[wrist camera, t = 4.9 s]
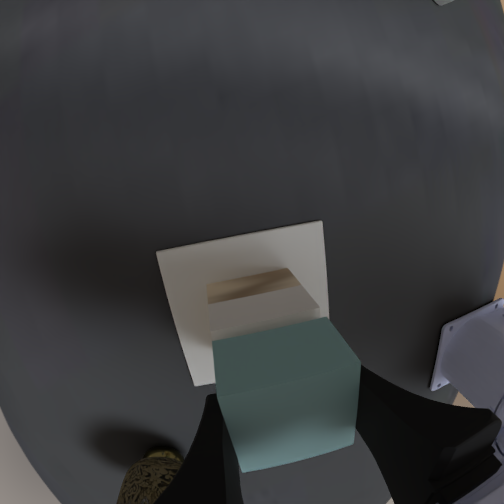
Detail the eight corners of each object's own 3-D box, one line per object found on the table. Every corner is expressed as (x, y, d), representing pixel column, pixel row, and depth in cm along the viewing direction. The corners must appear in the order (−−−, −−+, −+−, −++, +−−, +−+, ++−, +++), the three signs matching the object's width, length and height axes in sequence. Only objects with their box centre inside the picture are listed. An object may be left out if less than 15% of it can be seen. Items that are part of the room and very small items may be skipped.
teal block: (326, 316, 13) (361, 361, 10) (328, 396, 15) (353, 444, 12) (212, 341, 13) (216, 396, 9) (233, 419, 14) (242, 472, 11)
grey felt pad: (320, 220, 19) (322, 221, 19) (329, 353, 22) (330, 355, 22) (156, 251, 18) (155, 252, 18) (194, 383, 21) (194, 386, 21)
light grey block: (301, 284, 17) (320, 307, 14) (308, 359, 18) (323, 387, 15) (208, 304, 16) (210, 331, 13) (226, 378, 18) (231, 409, 15)
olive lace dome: (106, 439, 21) (92, 512, 14) (176, 419, 22) (176, 502, 14) (154, 480, 24) (153, 545, 16) (219, 464, 24) (230, 535, 16)
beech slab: (287, 267, 19) (301, 284, 17) (295, 336, 21) (308, 359, 18) (206, 284, 19) (208, 304, 16) (222, 352, 20) (226, 378, 18)
